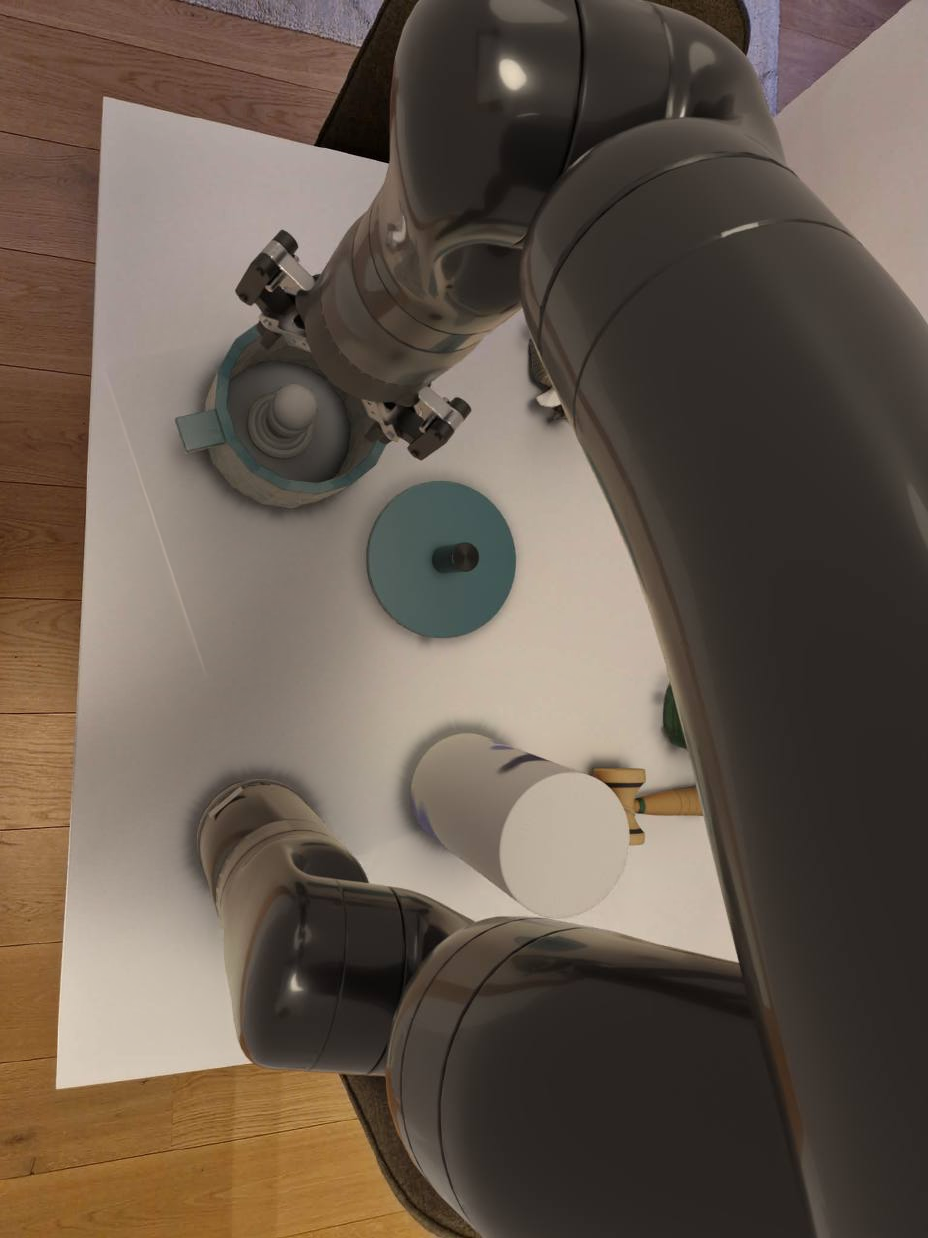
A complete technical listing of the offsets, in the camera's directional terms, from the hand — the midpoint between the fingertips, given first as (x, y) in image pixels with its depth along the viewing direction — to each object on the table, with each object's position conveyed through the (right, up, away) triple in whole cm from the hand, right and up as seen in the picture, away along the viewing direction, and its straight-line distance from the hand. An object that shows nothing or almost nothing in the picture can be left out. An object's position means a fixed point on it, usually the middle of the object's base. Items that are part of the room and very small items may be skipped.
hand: (326, 383), depth 57 cm
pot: (-6, 0, +16) cm, 17 cm away
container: (+9, -30, +22) cm, 38 cm away
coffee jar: (+32, -24, +31) cm, 51 cm away
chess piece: (-6, +1, +15) cm, 17 cm away
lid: (+7, -10, +20) cm, 24 cm away
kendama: (+24, -32, +28) cm, 49 cm away
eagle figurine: (+17, +7, +25) cm, 31 cm away
